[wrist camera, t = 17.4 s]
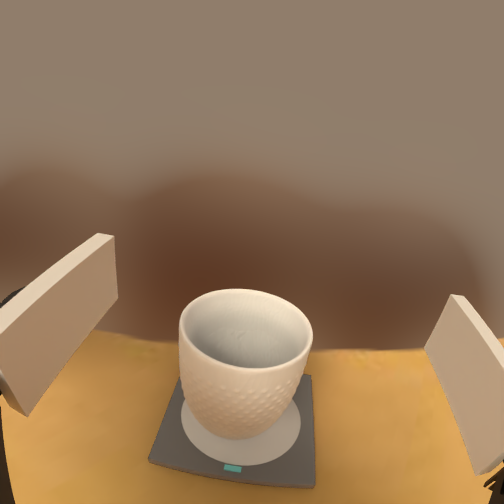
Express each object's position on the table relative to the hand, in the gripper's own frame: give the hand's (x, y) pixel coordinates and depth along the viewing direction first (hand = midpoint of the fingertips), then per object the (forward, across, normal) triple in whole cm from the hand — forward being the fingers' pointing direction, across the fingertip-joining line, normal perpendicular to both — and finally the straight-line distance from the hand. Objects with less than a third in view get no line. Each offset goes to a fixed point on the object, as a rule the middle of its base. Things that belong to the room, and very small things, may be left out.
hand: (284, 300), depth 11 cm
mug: (+11, 0, -23) cm, 25 cm away
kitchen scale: (+11, 0, -24) cm, 26 cm away
